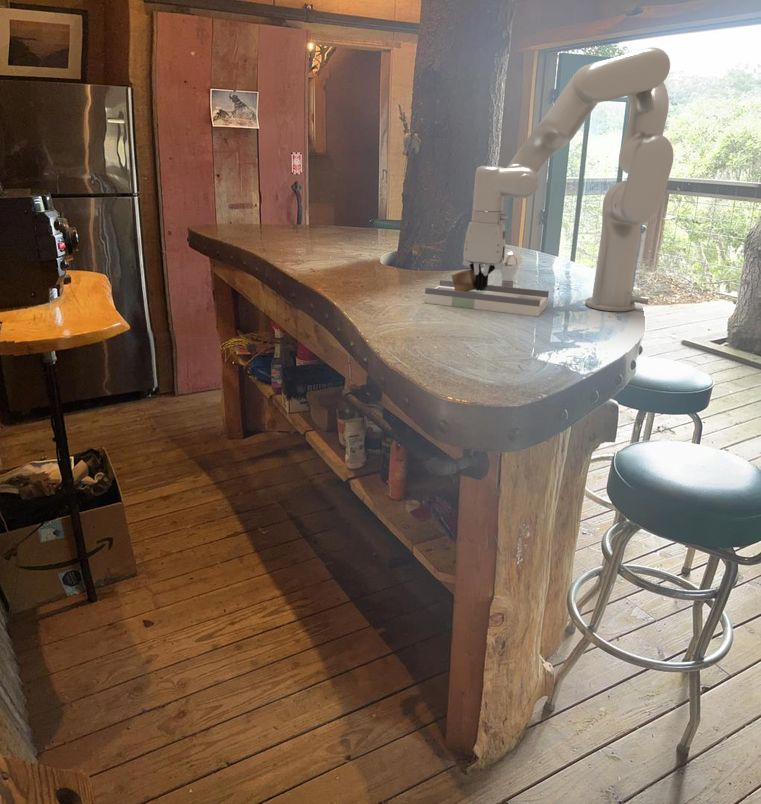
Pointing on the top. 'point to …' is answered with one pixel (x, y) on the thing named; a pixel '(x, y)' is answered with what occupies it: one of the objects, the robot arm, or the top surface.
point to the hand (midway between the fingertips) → (480, 289)
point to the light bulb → (510, 267)
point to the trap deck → (490, 298)
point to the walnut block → (464, 280)
